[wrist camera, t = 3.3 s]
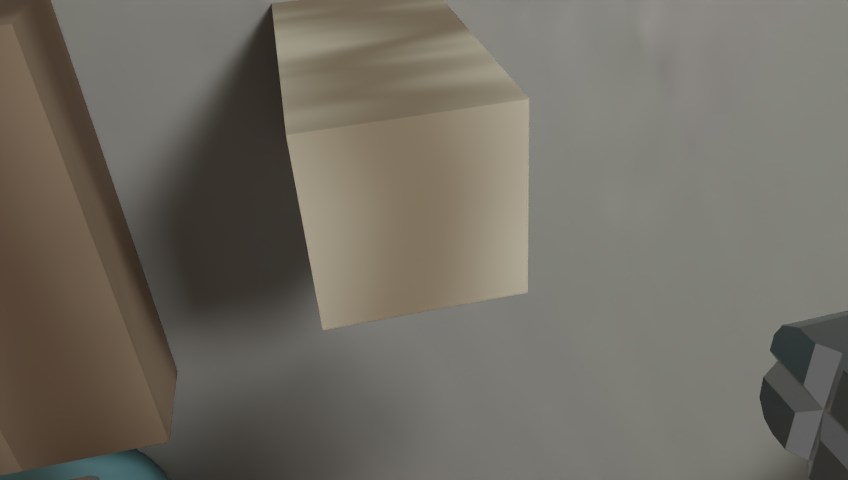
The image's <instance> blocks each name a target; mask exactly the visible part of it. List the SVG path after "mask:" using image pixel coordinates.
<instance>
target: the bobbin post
mask: <svg viewBox="0 0 848 480" xmlns="http://www.w3.org/2000/svg"><path fill="white" fill-rule="evenodd" d="M90 475H91V476H98V477H99V479H100V480H168V479H167V477H166V475H165V474H164V473H163V471H162V470H161V469H160V467H159V466H158V465H157V464H155V463H154V462H153V461H152V460H151V459H150V458H149V457H147V456H146V455H144V454H143V453H141V452H140V451H138V450H136V449H131V450H126V451H121V452H116V453H111V454H106V455H101V456H96V457H91V458H86V459H81V460H76V461H71V462H66V463H61V464H56V465H51V466H46V467H41V468H36V469H31V470H26V471H21V472H16V473H10V474H5V475H0V480H69V479H74V478H80V477H85V476H90Z"/></svg>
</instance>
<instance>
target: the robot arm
mask: <svg viewBox="0 0 848 480" xmlns="http://www.w3.org/2000/svg"><path fill="white" fill-rule="evenodd" d="M770 351H771V353H772V354H773V355H774V357H775V358H776V360H777V362H776V363H775V365H774V366H773V367H772V368H771V369H770V370H769V371H768V372H767V374H766V375H765V376H764V377H763V382H762V387H761V392H760V401H761V406H762V411H763V415H764V419H765V421H766V422H767V424H768V426H769V428H770V430H771V432H772V434H773V435H774V436H775V437H776V439H777V440H778V441H779V442H780V444H781V445H782V446H783V447H784V449H785V450H788V451H790V452H792V453H794V454H796V455H798V456H800V457H802V458H804V459H806V460H808V470H809V478H810V479H811V480H848V311H843V312H839V313H835V314H830V315H826V316H821V317H817V318H813V319H808V320H804V321H799V322H795V323H791V324H786V325H782V326H781V328H780V329H779V330H778V331H777V332H776V333H775V334H774V337H773V341H772V345H771V348H770ZM69 480H100V479H99V477H98V476H91V475H90V476H85V477H80V478H74V479H69Z"/></svg>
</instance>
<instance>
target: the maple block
mask: <svg viewBox="0 0 848 480" xmlns="http://www.w3.org/2000/svg"><path fill="white" fill-rule="evenodd" d="M272 13H273V22H274V31H275V40H276V49H277V58H278V67H279V76H280V85H281V94H282V103H283V113H284V122H285V131H286V138H287V143H288V148H289V154H290V159H291V164H292V170H293V175H294V180H295V186H296V191H297V196H298V201H299V207H300V212H301V217H302V223H303V228H304V233H305V239H306V244H307V249H308V254H309V260H310V265H311V270H312V276H313V281H314V286H315V292H316V297H317V302H318V307H319V313H320V318H321V323H322V329H323V330H326V329H332V328H337V327H342V326H348V325H353V324H359V323H364V322H370V321H375V320H380V319H386V318H391V317H397V316H402V315H408V314H413V313H419V312H424V311H429V310H435V309H440V308H446V307H451V306H457V305H462V304H468V303H473V302H478V301H484V300H489V299H495V298H500V297H506V296H511V295H517V294H522V293H527V292H528V192H529V98H528V97H527V96H526V95H525V94H524V92H523V91H522V90H521V89H520V88H519V87H518V85H517V84H516V83H515V82H514V81H513V80H512V79H511V77H510V76H509V75H508V74H507V73H506V72H505V71H504V69H503V68H502V67H501V66H500V65H499V64H498V63H497V61H496V60H495V59H494V58H493V57H492V56H491V54H490V53H489V52H488V51H487V50H486V49H485V48H484V46H483V45H482V44H481V43H480V42H479V41H478V40H477V38H476V37H475V36H474V35H473V34H472V33H471V32H470V30H469V29H468V28H467V27H466V26H465V25H464V23H463V22H462V21H461V20H460V19H459V18H458V17H457V15H456V14H455V13H454V12H453V11H452V10H451V9H450V7H449V6H448V5H447V4H446V3H445V2H444V1H443V0H298V1H290V2H282V3H274V4H272Z"/></svg>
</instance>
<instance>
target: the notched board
mask: <svg viewBox="0 0 848 480" xmlns="http://www.w3.org/2000/svg"><path fill="white" fill-rule="evenodd" d="M176 379H177V369H176V366H175V363H174V360H173V357H172V354H171V351H170V348H169V346H168V343H167V340H166V337H165V334H164V331H163V328H162V325H161V322H160V319H159V316H158V313H157V310H156V308H155V305H154V302H153V299H152V296H151V293H150V290H149V287H148V284H147V281H146V278H145V275H144V272H143V270H142V267H141V264H140V261H139V258H138V255H137V252H136V249H135V246H134V243H133V240H132V237H131V234H130V232H129V229H128V226H127V223H126V220H125V217H124V214H123V211H122V208H121V205H120V202H119V199H118V196H117V194H116V191H115V188H114V185H113V182H112V179H111V176H110V173H109V170H108V167H107V164H106V161H105V158H104V156H103V153H102V150H101V147H100V144H99V141H98V138H97V135H96V132H95V129H94V126H93V123H92V120H91V118H90V115H89V112H88V109H87V106H86V103H85V100H84V97H83V94H82V91H81V88H80V85H79V83H78V80H77V77H76V74H75V71H74V68H73V65H72V62H71V59H70V56H69V53H68V50H67V47H66V45H65V42H64V39H63V36H62V33H61V30H60V27H59V24H58V21H57V18H56V15H55V12H54V9H53V7H52V4H51V1H50V0H0V475H5V474H10V473H16V472H21V471H26V470H31V469H36V468H41V467H46V466H51V465H56V464H61V463H66V462H71V461H76V460H81V459H86V458H91V457H96V456H101V455H106V454H111V453H116V452H121V451H126V450H131V449H136V448H141V447H146V446H151V445H156V444H161V443H166V442H169V440H170V432H171V423H172V414H173V405H174V397H175V388H176Z"/></svg>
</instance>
